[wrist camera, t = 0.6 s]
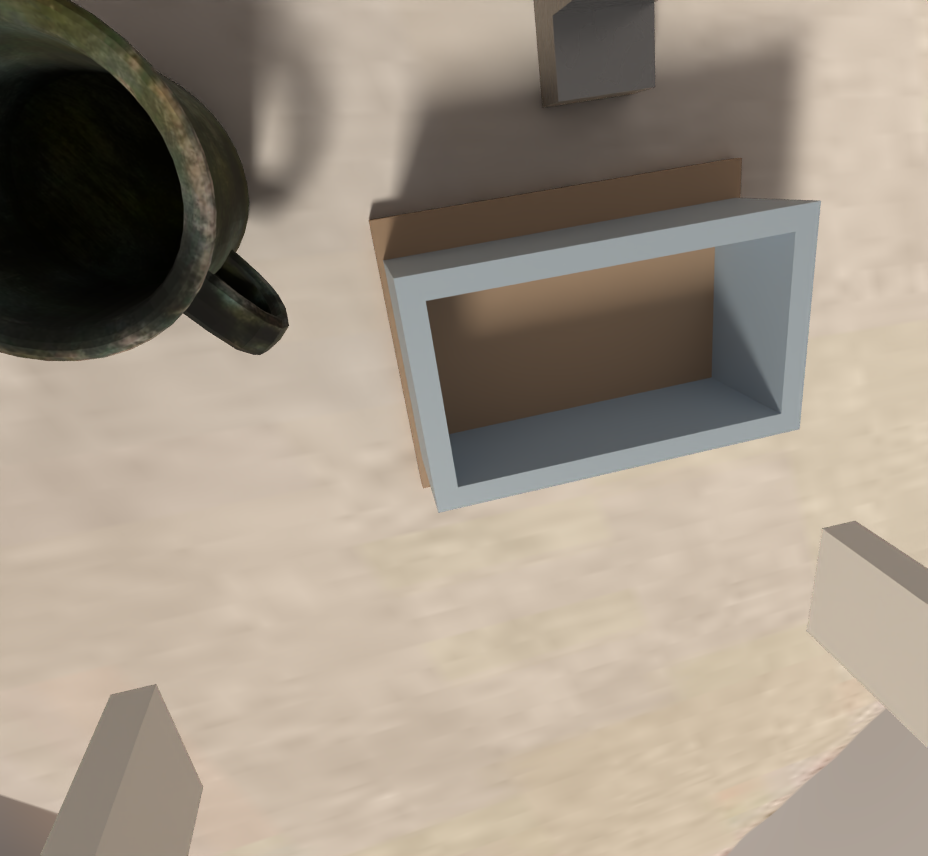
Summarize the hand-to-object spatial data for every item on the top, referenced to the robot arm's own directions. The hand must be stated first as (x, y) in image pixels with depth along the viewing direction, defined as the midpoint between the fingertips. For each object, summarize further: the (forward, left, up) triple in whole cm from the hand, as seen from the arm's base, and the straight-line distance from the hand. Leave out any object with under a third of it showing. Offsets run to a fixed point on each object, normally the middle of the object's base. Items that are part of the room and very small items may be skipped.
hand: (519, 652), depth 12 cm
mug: (-9, -10, -25) cm, 28 cm away
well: (+1, +10, -25) cm, 27 cm away
